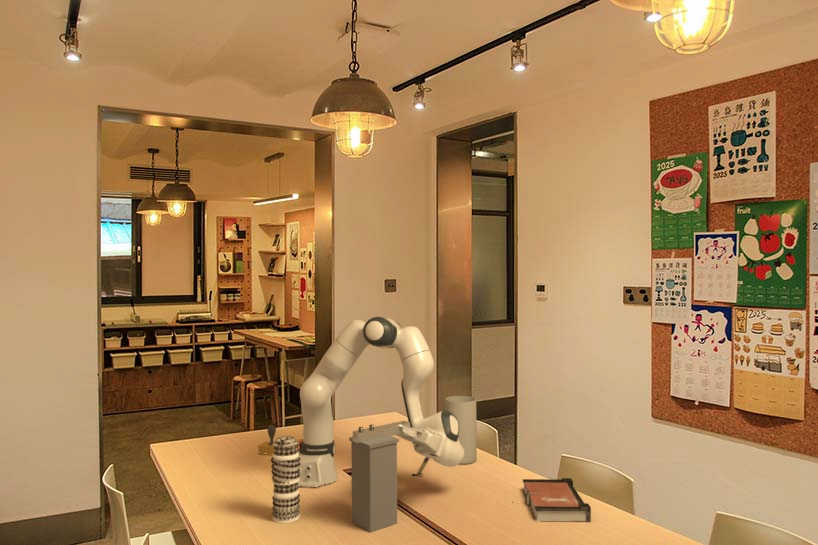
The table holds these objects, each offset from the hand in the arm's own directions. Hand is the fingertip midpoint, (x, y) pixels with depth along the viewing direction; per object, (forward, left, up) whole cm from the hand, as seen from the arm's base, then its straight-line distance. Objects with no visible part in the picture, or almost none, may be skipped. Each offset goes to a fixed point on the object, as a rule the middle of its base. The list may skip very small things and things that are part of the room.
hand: (397, 426), depth 192 cm
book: (+51, +7, -29) cm, 59 cm away
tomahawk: (+10, +46, -29) cm, 55 cm away
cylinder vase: (+25, +55, -28) cm, 67 cm away
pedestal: (-7, -6, -28) cm, 29 cm away
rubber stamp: (-55, +66, -28) cm, 91 cm away
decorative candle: (-35, -2, -28) cm, 45 cm away
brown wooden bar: (-5, -4, -2) cm, 7 cm away
